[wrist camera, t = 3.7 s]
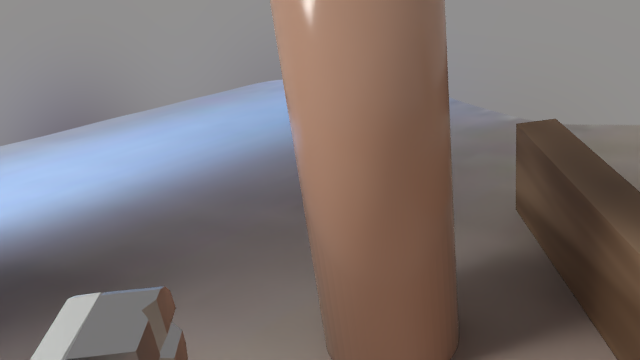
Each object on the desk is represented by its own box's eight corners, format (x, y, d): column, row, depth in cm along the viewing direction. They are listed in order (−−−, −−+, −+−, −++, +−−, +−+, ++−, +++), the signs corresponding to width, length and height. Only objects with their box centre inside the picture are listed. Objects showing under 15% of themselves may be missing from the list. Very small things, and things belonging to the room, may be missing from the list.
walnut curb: (723, 516, 16) (756, 378, 14) (515, 209, 33) (516, 123, 30) (798, 508, 16) (842, 368, 14) (552, 204, 32) (555, 118, 30)
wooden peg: (327, 391, 22) (236, -150, 15) (324, 302, 27) (254, -137, 20) (473, 374, 22) (457, -184, 15) (443, 287, 27) (419, -162, 20)
